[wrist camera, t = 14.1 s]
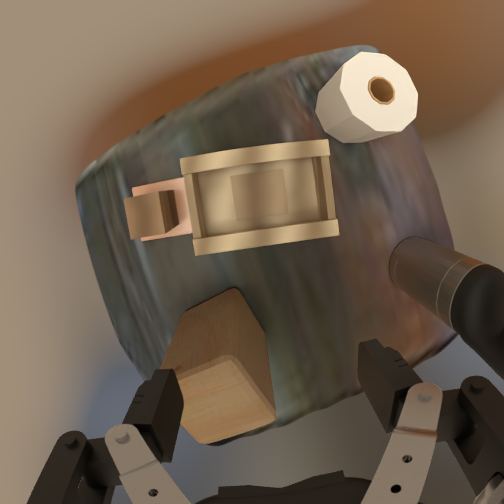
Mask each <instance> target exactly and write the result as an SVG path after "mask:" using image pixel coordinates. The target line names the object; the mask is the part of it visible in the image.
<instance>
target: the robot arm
mask: <svg viewBox="0 0 504 504" xmlns="http://www.w3.org/2000/svg"><path fill="white" fill-rule="evenodd" d="M389 272H390V276H391V279H392V281H393V283H394V284H395V285H396V286H397V287H398V288H400V289H401V290H402V291H404V292H405V293H406V294H408V295H409V296H410V297H412V298H413V299H414V300H416V301H417V302H418V303H420V304H421V305H422V306H424V307H425V308H426V309H427V310H429V311H430V312H431V313H433V314H434V315H435V316H437V317H438V318H439V319H440V320H442V321H443V322H444V323H446V324H447V325H448V326H449V327H451V328H452V329H453V330H454V331H456V332H457V333H458V334H459V335H460V336H461V338H462V339H463V341H464V342H465V343H466V344H468V345H469V346H470V347H471V348H472V349H473V350H474V351H475V352H476V353H477V354H478V355H479V356H480V357H481V358H482V359H483V360H484V361H485V362H486V363H487V364H488V365H489V366H490V367H491V368H492V369H493V370H494V371H495V372H496V373H497V374H498V375H499V376H500V377H501V378H502V379H503V380H504V273H503V272H502V271H501V270H499V269H498V268H496V267H493V266H491V265H489V264H486V263H484V262H481V261H479V260H477V259H474V258H471V257H469V256H467V255H464V254H462V253H459V252H457V251H454V250H451V249H449V248H446V247H444V246H441V245H438V244H436V243H433V242H431V241H428V240H425V239H423V238H420V237H410V238H407V239H405V240H403V241H402V242H401V243H400V244H399V245H398V246H397V247H396V248H395V250H394V252H393V254H392V256H391V259H390V264H389ZM358 379H359V382H360V384H361V386H362V388H363V390H364V392H365V394H366V395H367V397H368V399H369V401H370V403H371V405H372V406H373V409H374V410H375V412H376V414H377V416H378V418H379V420H380V422H381V424H382V426H383V428H384V430H385V431H386V433H389V432H392V431H393V433H392V436H391V439H390V441H389V444H388V446H387V449H386V451H385V453H384V456H383V458H382V461H381V463H380V465H379V467H378V469H377V472H376V474H375V476H374V478H373V480H372V481H371V480H367V479H363V478H353V477H345V476H344V473H343V470H341V471H337V472H333V473H329V474H324V475H319V476H313V477H311V478H308V479H305V480H303V481H300V482H298V483H295V484H292V485H289V486H287V487H283V488H273V487H261V486H252V485H246V486H225V487H219V489H218V495H214V496H211V497H208V498H205V499H203V500H200V501H199V502H197V503H195V504H423V503H421V502H418V500H419V498H420V495H421V492H422V489H423V486H424V483H425V479H426V476H427V472H428V469H429V466H430V462H431V458H432V455H433V451H434V447H435V443H436V442H441V441H446V442H447V443H448V445H449V447H450V449H451V450H452V452H453V454H454V455H455V457H456V459H457V461H458V463H459V464H460V466H461V468H462V470H463V472H464V473H465V475H466V477H467V479H468V481H469V482H470V485H471V486H472V488H473V490H474V492H475V494H476V496H477V497H476V499H475V501H474V503H473V504H504V396H503V395H502V394H501V393H500V392H499V391H498V390H497V388H496V387H495V386H494V385H493V384H492V383H491V382H490V381H489V380H487V379H486V378H485V377H482V376H470V377H468V378H466V379H465V380H464V381H463V382H462V384H461V387H460V389H454V390H447V391H442V390H441V389H440V388H439V387H438V386H437V385H435V384H432V383H424V382H423V381H422V380H421V379H420V378H419V376H418V375H417V374H416V373H415V371H414V370H413V369H412V368H411V367H410V365H408V363H407V362H406V361H405V359H403V357H402V356H401V355H400V353H399V352H398V351H396V350H394V349H392V348H390V347H386V348H384V347H383V346H382V345H381V344H380V342H379V341H378V340H377V339H373V340H369V341H364V342H360V343H359V349H358ZM183 409H184V399H183V395H182V392H181V389H180V386H179V383H178V380H177V377H176V374H175V372H174V370H173V369H156V370H155V371H154V374H153V376H152V378H151V380H146V381H145V382H144V383H143V384H142V385H141V386H140V387H139V388H138V390H137V392H136V394H135V397H134V398H133V401H132V403H131V405H130V407H129V410H128V412H127V414H126V416H125V419H124V421H123V423H122V424H120V425H117V426H114V427H112V428H111V429H110V430H109V431H108V432H107V433H106V435H105V437H104V438H97V439H89V440H88V439H87V438H86V437H85V435H84V434H83V433H82V432H80V431H70V432H67V433H65V434H63V435H62V436H61V437H60V438H59V439H58V440H57V442H56V444H55V446H54V448H53V450H52V452H51V454H50V456H49V458H48V460H47V462H46V464H45V466H44V468H43V470H42V472H41V474H40V476H39V478H38V480H37V482H36V485H35V487H34V489H33V491H32V493H31V495H30V498H29V500H28V502H27V504H111V500H112V496H113V493H114V489H115V486H116V485H123V486H124V488H125V489H126V491H127V493H128V495H129V497H130V499H131V501H132V502H133V504H191V503H190V502H189V501H188V500H187V498H186V497H185V496H184V494H183V493H182V492H181V491H180V489H179V488H178V487H177V486H176V484H175V483H174V482H173V480H172V479H171V478H170V476H169V475H168V474H167V472H166V471H165V469H164V468H163V466H162V465H161V463H162V462H169V463H171V461H172V457H173V452H174V448H175V444H176V439H177V434H178V430H179V426H180V422H181V418H182V413H183ZM81 478H82V480H81ZM80 481H81V482H80ZM79 484H80V485H79ZM78 486H79V488H78Z"/></svg>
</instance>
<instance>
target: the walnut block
mask: <svg viewBox="0 0 504 504" xmlns="http://www.w3.org/2000/svg"><path fill="white" fill-rule="evenodd" d="M124 204H125V210H126V216H127V221H128V227H129V232H130V237H131V239H137V238H142V237H148V236H154V235H161V234H166V233H167V232H169V231H170V230H172V229H173V228H175V227H176V226H178V225H179V219H178V213H177V207H176V200H175V194H174V190H167V191H159V192H153V193H148V194H143V195H139V196H134V197H129V198H125V199H124Z"/></svg>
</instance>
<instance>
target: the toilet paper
mask: <svg viewBox="0 0 504 504" xmlns="http://www.w3.org/2000/svg"><path fill="white" fill-rule="evenodd" d="M417 99H418V93H417V91H416V89H415V87H414V84H413V82H412V81H411V78H410V76H409V75H408V73H407V71H406V70H405V69H404V68H403V67H401V66H400V65H399V64H398V63H396V62H395V61H393V60H392V59H391V58H389V57H388V56H387V55H385V54H378V53H368V52H360V53H359V54H357V55H356V56H354V57H353V58H352V59H350V60H349V61H348V62H346V63H345V64H343V65H342V67H341V68H340V69H339V70H338V71H337V72H336V73H335V74H334V76H333V77H332V78H331V79H330V80H329V81H328V82H327V83H326V85H325V86H324V87H323V88H322V89H321V90H320V91H319V93H318V98H317V104H316V109H315V113H316V115H317V117H318V119H319V121H320V123H321V125H322V127H323V129H324V131H325V132H326V133H328V134H329V135H331V136H333V137H334V138H336V139H337V140H339V141H340V142H342V143H363V142H366V141H369V140H373V139H376V138H380V137H383V136H387V135H390V134H394V133H397V132H401V131H402V130H403V129H404V128H405V127H406V126H407V125H408V124H409V123H410V122H411V121H412V120H413V119H414V118H415V117H416V112H417Z"/></svg>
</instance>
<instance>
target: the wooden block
mask: <svg viewBox="0 0 504 504" xmlns="http://www.w3.org/2000/svg"><path fill="white" fill-rule="evenodd" d="M160 369H173V370H174V372H175V374H176V377H177V380H178V383H179V386H180V389H181V392H182V395H183V399H184V409H183V413H182V418H181V422H180V424H181V425H182V426H183V427H184V428H185V429H186V430H187V431H188V432H189V433H190V434H191V435H192V436H193V437H194V438H195V439H196V440H197V441H198V442H200V443H202V444H208V443H212V442H215V441H219V440H222V439H225V438H229V437H232V436H235V435H238V434H241V433H244V432H247V431H250V430H253V429H255V428H258V427H261V426H264V425H266V424H269V423H271V422H272V421H274V420H275V418H276V409H275V402H274V394H273V387H272V380H271V373H270V366H269V359H268V352H267V345H266V338H265V332H264V331H263V329H262V327H261V326H260V324H259V323H258V321H257V319H256V318H255V316H254V314H253V313H252V311H251V309H250V308H249V306H248V304H247V303H246V301H245V299H244V298H243V296H242V294H241V293H240V291H239V290H237V289H236V288H233V289H229V290H227V291H225V292H223V293H221V294H219V295H217V296H215V297H213V298H211V299H210V300H208V301H206V302H204V303H202V304H200V305H198V306H196V307H194V308H192V309H190V310H188V311H186V312H185V313H184V314H183V315H182V318H181V320H180V322H179V324H178V327H177V329H176V331H175V334H174V336H173V338H172V341H171V343H170V345H169V348H168V350H167V353H166V355H165V357H164V360H163V362H162V365H161V367H160Z"/></svg>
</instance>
